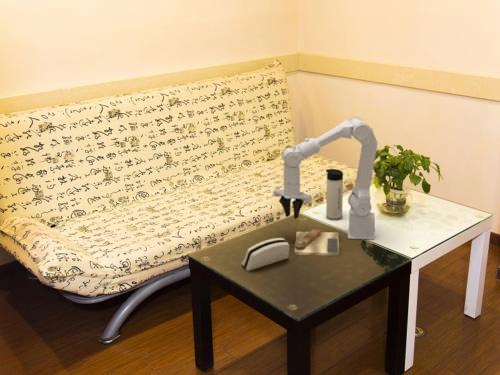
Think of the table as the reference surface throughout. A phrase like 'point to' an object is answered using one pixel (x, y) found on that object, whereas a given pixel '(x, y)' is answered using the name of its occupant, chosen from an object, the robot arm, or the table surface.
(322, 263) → the table surface
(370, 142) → the robot arm
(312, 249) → the latch board
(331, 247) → the keeper
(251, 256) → the white pencil case
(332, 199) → the travel mug
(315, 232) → the link
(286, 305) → the table surface
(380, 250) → the table surface
